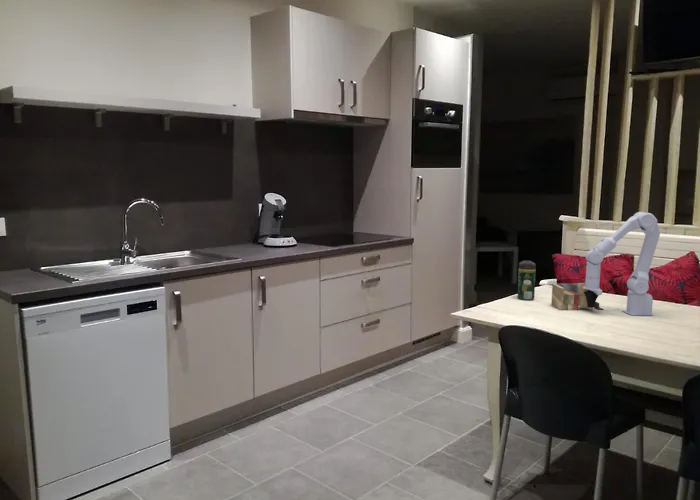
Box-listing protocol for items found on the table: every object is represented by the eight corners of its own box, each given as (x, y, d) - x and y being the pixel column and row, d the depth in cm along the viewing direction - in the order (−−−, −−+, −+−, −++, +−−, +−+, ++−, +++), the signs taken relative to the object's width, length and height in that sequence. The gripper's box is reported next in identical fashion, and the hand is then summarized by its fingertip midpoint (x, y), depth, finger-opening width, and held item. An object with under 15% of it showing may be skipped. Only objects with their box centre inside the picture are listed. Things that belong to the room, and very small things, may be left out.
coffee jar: (517, 296, 274) (518, 259, 272) (533, 297, 272) (535, 260, 269) (517, 300, 265) (519, 261, 262) (534, 301, 263) (536, 262, 260)
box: (579, 307, 246) (577, 283, 247) (581, 308, 249) (579, 283, 251) (591, 307, 243) (589, 282, 244) (594, 307, 246) (591, 282, 248)
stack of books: (593, 305, 255) (594, 283, 254) (603, 310, 245) (605, 288, 244) (550, 304, 255) (551, 283, 254) (559, 310, 245) (560, 288, 243)
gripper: (576, 274, 248) (574, 303, 250) (591, 280, 234) (589, 311, 235) (591, 274, 248) (589, 304, 250) (607, 280, 234) (605, 311, 235)
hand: (590, 307), depth 243 cm, fingers closed, pressing on box
